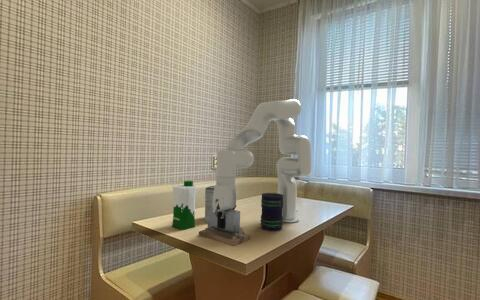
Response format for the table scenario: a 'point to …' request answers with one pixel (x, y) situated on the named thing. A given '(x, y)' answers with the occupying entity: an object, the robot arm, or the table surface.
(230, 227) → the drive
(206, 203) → the coffee box
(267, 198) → the storage jar
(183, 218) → the milk carton
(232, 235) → the dock
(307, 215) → the table surface
